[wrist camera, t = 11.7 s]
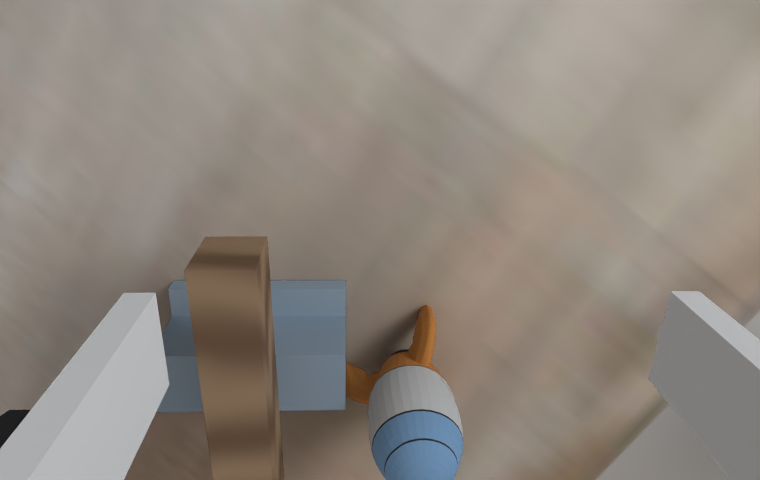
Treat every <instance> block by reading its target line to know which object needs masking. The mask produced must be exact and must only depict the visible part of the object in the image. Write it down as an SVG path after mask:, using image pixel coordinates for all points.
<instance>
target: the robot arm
mask: <svg viewBox="0 0 760 480" xmlns="http://www.w3.org/2000/svg"><path fill="white" fill-rule="evenodd" d="M648 379H649V380H650V382H651V383H652V384H653V385H654V386H655V388H656V389H657V390H658V391H659V393H660V394H661V395H662V396H663V398H664V399H665V400H666V401H667V403H668V404H669V405H670V406H671V407H672V409H673V410H674V411H675V412H676V414H677V415H678V416H679V417H680V419H681V420H682V421H683V422H684V424H685V425H686V426H687V427H688V429H689V430H690V431H691V432H692V434H693V435H694V436H695V437H696V439H697V440H698V441H699V442H700V444H701V445H702V446H703V447H704V448H705V450H706V451H707V452H708V453H709V455H710V456H711V457H712V458H713V460H714V461H715V462H716V463H717V464H718V466H719V467H720V468H721V470H722V471H723V472H724V473H725V475H726V476H727V477H728V478H729V479H730V480H760V340H759V339H758V338H756V337H755V336H754V335H752V334H751V333H750V332H749V331H748V330H746V329H745V328H744V327H743V326H741V325H740V324H739V323H738V322H737V321H735V320H734V319H733V318H732V317H730V316H729V315H728V314H727V313H725V312H724V311H723V310H722V309H720V308H719V307H718V306H717V305H716V304H714V303H713V302H712V301H711V300H709V299H708V298H707V297H706V296H704V295H703V294H702V293H701V292H699V291H671V293H670V297H669V301H668V305H667V309H666V313H665V316H664V320H663V324H662V328H661V332H660V336H659V340H658V343H657V347H656V351H655V355H654V359H653V363H652V367H651V370H650V374H649V378H648ZM168 386H169V379H168V372H167V365H166V359H165V352H164V345H163V339H162V332H161V326H160V319H159V312H158V306H157V299H156V293H123V294H122V296H121V297H120V298H119V299H118V301H117V302H116V303H115V305H114V306H113V307H112V308H111V310H110V311H109V312H108V313H107V315H106V316H105V317H104V318H103V320H102V321H101V322H100V323H99V325H98V326H97V327H96V328H95V330H94V331H93V332H92V334H91V335H90V336H89V337H88V339H87V340H86V341H85V342H84V344H83V345H82V346H81V347H80V349H79V350H78V351H77V352H76V354H75V355H74V356H73V357H72V359H71V360H70V361H69V363H68V364H67V365H66V366H65V368H64V369H63V370H62V371H61V373H60V374H59V375H58V376H57V378H56V379H55V380H54V381H53V383H52V384H51V385H50V386H49V388H48V389H47V390H46V392H45V393H44V394H43V395H42V397H41V398H40V399H39V400H38V402H37V403H36V404H35V405H34V407H33V408H32V409H31V410H9V411H7V412H6V413H4V414H3V415H1V416H0V480H124V478H125V476H126V474H127V472H128V470H129V468H130V466H131V464H132V462H133V459H134V457H135V455H136V453H137V451H138V449H139V447H140V445H141V443H142V441H143V439H144V436H145V434H146V432H147V430H148V428H149V426H150V424H151V422H152V420H153V418H154V416H155V413H156V411H157V409H158V407H159V405H160V403H161V401H162V399H163V397H164V395H165V393H166V390H167V388H168Z"/></svg>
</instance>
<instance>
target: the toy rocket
mask: <svg viewBox="0 0 760 480" xmlns="http://www.w3.org/2000/svg"><path fill="white" fill-rule="evenodd" d="M435 339H436V322H435V317H434V314H433V311H432V309H431V307H429V306H427V305H425V306H423V307H421V308H420V311H419V315H418V319H417V323H416V328H415V332H414V336H413V344H412V345H411V347H410V348H409V350H400V351H397V352H395V353H394V354H393V355H392V356H391V357H389V358H388V359H387V360H386V361H385V362H384V364H383V365H382V366H381V368H380V370H379V372H376V373H374V374H372V375H367V373H366V372H365V371H364V370H362V369H360V368H357V367H355V366H353V365H351V364H349V363H346V394H345V395H346V396H347V397H349V398H351V399H352V400H355V401H357V402H361V403H366V404H368V420H369V440H370V446H371V450H372V453H373V457H374V460H375V462H376V465H377V466H378V468H379V470H380V471H381V473H382V475H383V476H384V477H385V478H386V480H453V478H454V477H455V475H456V472H457V469H458V467H459V463H460V460H461V456H462V449H463V431H462V424H461V419H460V415H459V411H458V409H457V406H456V401H455V399H454V396H453V394H452V392H451V390H450V387H449V385H448V384H447V383H446V381H445V380H444V378H443V377H442V376H441V374H440V373H439V372H438V371H437V369H436V368H435V367H434V366H433V364H432V363H431V359H432V355H433V351H434V346H435Z"/></svg>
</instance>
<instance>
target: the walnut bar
mask: <svg viewBox="0 0 760 480" xmlns="http://www.w3.org/2000/svg"><path fill="white" fill-rule="evenodd" d="M184 272H185V279H186V286H187V294H188V301H189V308H190V315H191V323H192V330H193V337H194V345H195V352H196V359H197V366H198V374H199V381H200V388H201V396H202V403H203V410H204V417H205V425H206V432H207V439H208V447H209V454H210V461H211V468H212V476H213V480H284V468H283V454H282V440H281V426H280V411H279V397H278V383H277V369H276V355H275V340H274V326H273V312H272V298H271V284H270V269H269V255H268V241H267V237H205V238H204V240H203V242H202V243H201V245H200V246H199V248H198V250H197V251H196V253H195V254H194V256H193V257H192V259H191V261H190V262H189V264H188V265H187V267H186V269H185V270H184Z"/></svg>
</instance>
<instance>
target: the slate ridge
mask: <svg viewBox="0 0 760 480" xmlns="http://www.w3.org/2000/svg"><path fill="white" fill-rule="evenodd" d="M270 284H271V298H272V312H273V326H274V340H275V355H276V369H277V383H278V397H279V411H301V410H345V394H346V280H318V281H270ZM168 292H169V300H170V307H171V314H172V318H171V319H170V321H169V323H168V325H167V326H166V328H165V330H164V332H163V333H162V339H163V345H164V352H165V359H166V365H167V372H168V379H169V386H168V388H167V390H166V393H165V395H164V397H163V399H162V401H161V403H160V405H159V407H158V413H164V412H204V410H203V403H202V396H201V388H200V381H199V374H198V366H197V359H196V352H195V345H194V337H193V330H192V323H191V315H190V308H189V301H188V294H187V286H186V281H173V282H172V284H171V286H170V287H169V289H168Z"/></svg>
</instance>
